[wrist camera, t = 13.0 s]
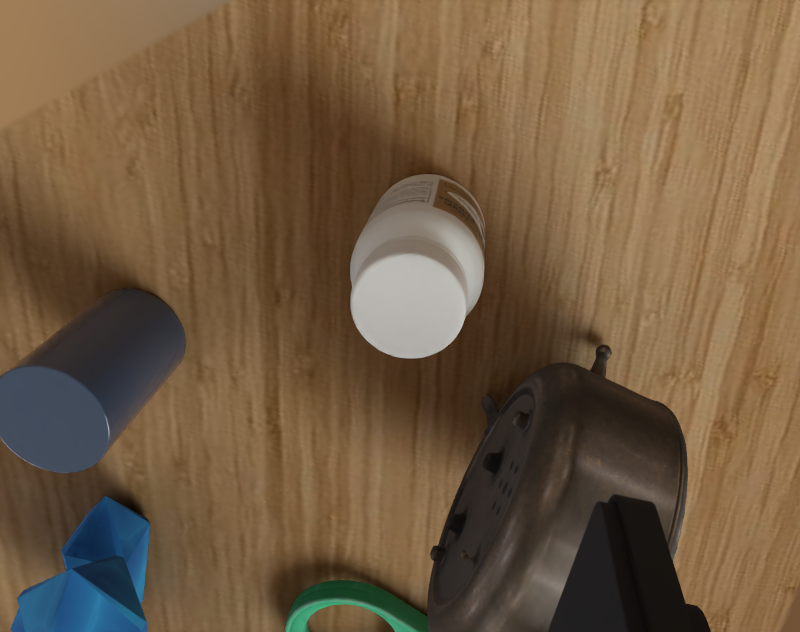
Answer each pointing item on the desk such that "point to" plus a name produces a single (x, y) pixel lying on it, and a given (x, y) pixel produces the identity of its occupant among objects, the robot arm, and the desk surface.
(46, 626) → the crystal
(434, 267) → the pill bottle
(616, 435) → the alarm clock
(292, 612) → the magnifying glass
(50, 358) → the post mid
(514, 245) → the desk surface
